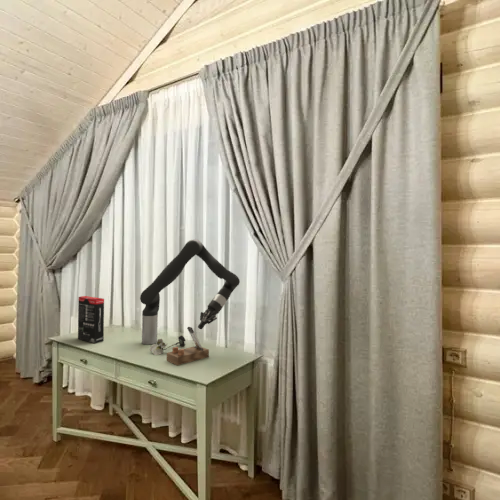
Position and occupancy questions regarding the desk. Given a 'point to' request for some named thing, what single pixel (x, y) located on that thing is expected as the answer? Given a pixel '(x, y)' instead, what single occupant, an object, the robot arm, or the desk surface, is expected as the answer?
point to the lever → (194, 337)
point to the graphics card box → (91, 319)
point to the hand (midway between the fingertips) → (199, 328)
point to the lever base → (186, 355)
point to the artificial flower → (160, 345)
